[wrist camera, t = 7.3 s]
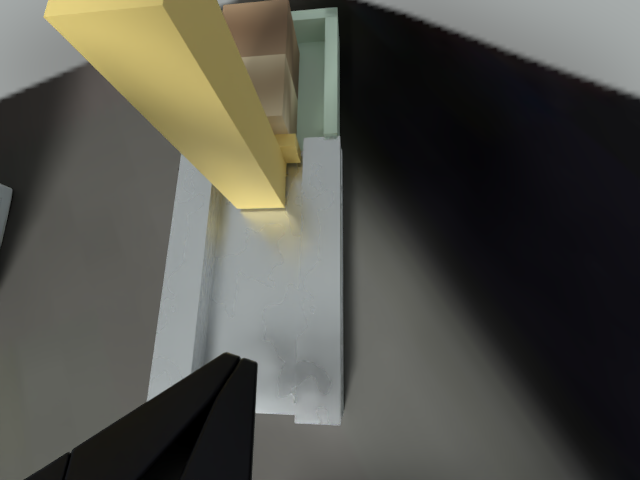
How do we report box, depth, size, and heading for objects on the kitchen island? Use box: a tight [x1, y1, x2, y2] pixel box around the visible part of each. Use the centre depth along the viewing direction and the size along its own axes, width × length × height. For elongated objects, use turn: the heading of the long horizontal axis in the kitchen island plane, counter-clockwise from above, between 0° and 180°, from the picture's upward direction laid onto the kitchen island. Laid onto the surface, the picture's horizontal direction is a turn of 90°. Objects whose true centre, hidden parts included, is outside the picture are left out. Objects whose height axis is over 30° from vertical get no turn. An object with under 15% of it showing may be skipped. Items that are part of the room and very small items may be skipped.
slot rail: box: [147, 136, 344, 425], centre depth 19 cm, size 16×10×3 cm, turn 179°
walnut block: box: [223, 0, 300, 100], centre depth 21 cm, size 4×4×4 cm
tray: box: [291, 7, 340, 151], centre depth 22 cm, size 10×10×3 cm
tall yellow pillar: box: [44, 0, 301, 209], centre depth 14 cm, size 4×5×13 cm
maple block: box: [241, 54, 298, 136], centre depth 20 cm, size 4×4×4 cm
